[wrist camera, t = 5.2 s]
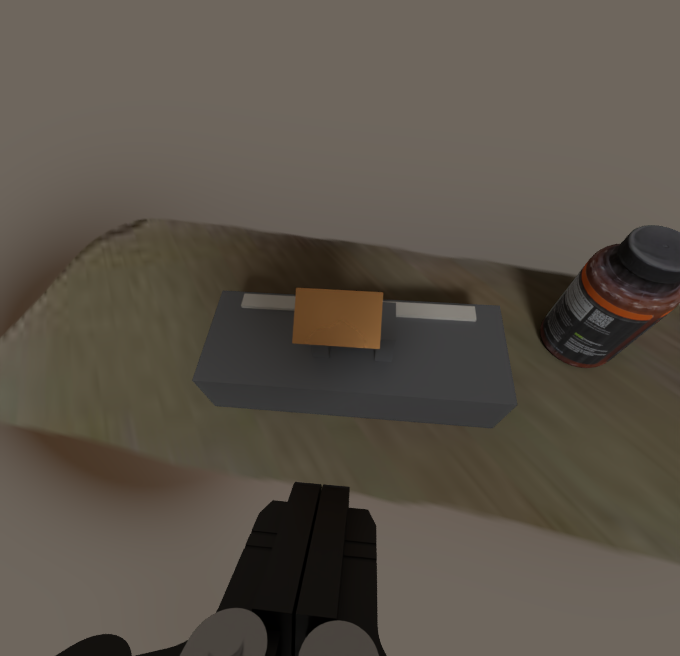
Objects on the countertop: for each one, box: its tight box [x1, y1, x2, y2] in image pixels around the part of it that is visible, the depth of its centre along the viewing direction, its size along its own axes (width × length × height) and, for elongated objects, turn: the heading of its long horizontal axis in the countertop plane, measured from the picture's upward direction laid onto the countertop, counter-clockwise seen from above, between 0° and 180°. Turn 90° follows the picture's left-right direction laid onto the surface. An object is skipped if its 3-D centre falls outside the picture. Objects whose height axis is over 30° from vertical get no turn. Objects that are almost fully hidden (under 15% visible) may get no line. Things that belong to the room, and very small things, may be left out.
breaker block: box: [192, 291, 517, 428], centre depth 27 cm, size 22×8×8 cm, turn 85°
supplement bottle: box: [540, 225, 680, 368], centre depth 27 cm, size 6×6×11 cm
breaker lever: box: [292, 288, 383, 349], centre depth 19 cm, size 3×2×15 cm, turn 85°
